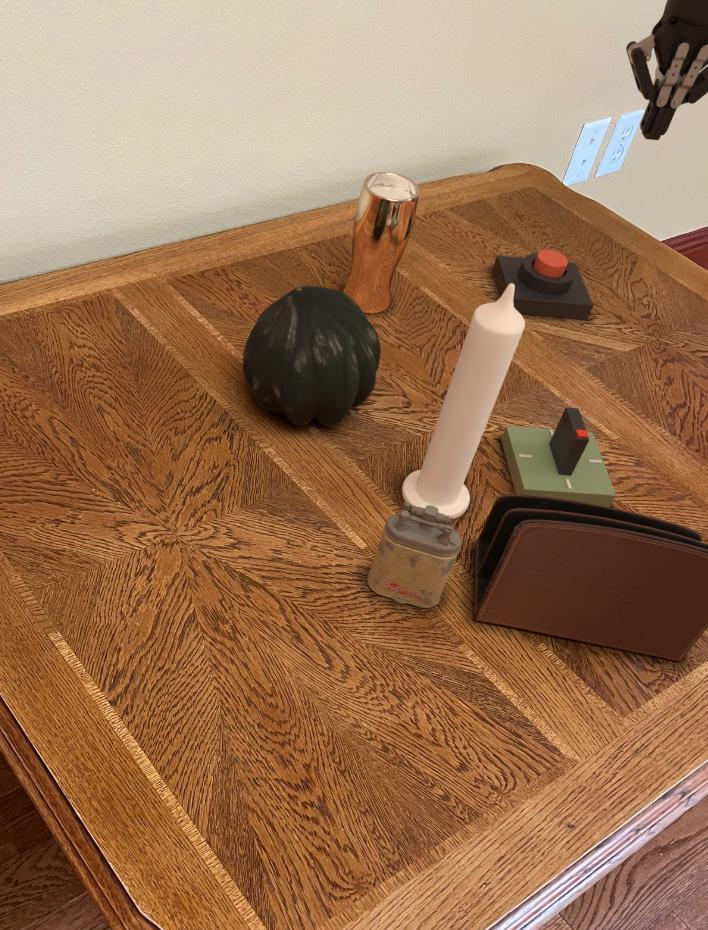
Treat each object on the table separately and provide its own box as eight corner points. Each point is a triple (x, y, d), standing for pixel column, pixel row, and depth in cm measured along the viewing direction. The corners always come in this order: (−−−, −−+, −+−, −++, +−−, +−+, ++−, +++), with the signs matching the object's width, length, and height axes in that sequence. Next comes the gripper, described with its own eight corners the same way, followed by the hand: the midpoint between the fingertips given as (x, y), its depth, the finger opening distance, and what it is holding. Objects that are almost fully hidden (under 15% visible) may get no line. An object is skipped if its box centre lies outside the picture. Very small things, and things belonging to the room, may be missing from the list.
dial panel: (585, 445, 106) (593, 430, 104) (608, 508, 100) (617, 494, 98) (500, 439, 105) (506, 424, 103) (518, 502, 99) (524, 487, 97)
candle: (459, 530, 95) (545, 318, 76) (393, 506, 96) (462, 292, 77) (474, 487, 99) (560, 276, 80) (411, 465, 101) (481, 251, 81)
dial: (548, 442, 102) (566, 405, 98) (561, 443, 103) (579, 406, 98) (558, 474, 99) (577, 436, 95) (571, 475, 99) (590, 438, 95)
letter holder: (681, 664, 87) (761, 565, 76) (472, 622, 88) (522, 517, 77) (668, 584, 94) (741, 482, 83) (473, 545, 94) (519, 439, 83)
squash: (419, 356, 104) (354, 235, 97) (372, 437, 95) (297, 310, 88) (319, 389, 113) (253, 281, 106) (267, 465, 105) (192, 353, 98)
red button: (559, 263, 124) (564, 250, 122) (566, 280, 121) (571, 267, 120) (530, 260, 123) (534, 247, 122) (536, 277, 121) (541, 265, 119)
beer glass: (390, 320, 117) (420, 206, 106) (335, 309, 117) (359, 194, 106) (394, 290, 122) (423, 177, 110) (341, 280, 122) (364, 166, 110)
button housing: (569, 277, 129) (580, 250, 126) (587, 320, 123) (599, 293, 119) (491, 269, 128) (501, 242, 125) (505, 312, 121) (516, 285, 118)
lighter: (442, 587, 90) (473, 514, 82) (435, 616, 88) (466, 544, 80) (371, 565, 91) (394, 491, 83) (362, 593, 88) (385, 519, 81)
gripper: (765, -40, 100) (691, 127, 113) (647, -53, 99) (586, 118, 112) (794, -15, 95) (713, 156, 108) (671, -28, 94) (604, 147, 107)
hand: (649, 136), depth 110 cm, fingers closed
